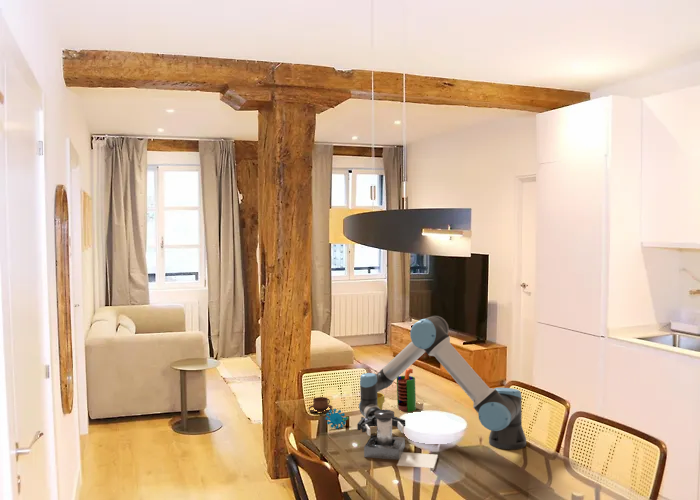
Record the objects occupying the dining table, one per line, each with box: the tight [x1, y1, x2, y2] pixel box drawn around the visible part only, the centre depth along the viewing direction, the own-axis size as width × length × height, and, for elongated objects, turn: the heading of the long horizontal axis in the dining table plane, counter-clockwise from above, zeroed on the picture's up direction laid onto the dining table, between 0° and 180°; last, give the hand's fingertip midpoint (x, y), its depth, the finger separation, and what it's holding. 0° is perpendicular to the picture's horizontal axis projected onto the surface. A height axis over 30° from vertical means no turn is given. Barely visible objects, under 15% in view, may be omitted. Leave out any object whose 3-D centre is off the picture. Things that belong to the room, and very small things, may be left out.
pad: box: [396, 451, 439, 472], centre depth 238 cm, size 14×14×1 cm
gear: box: [324, 408, 349, 430], centre depth 285 cm, size 11×6×10 cm
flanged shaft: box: [374, 409, 395, 446], centre depth 247 cm, size 8×8×16 cm
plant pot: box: [377, 392, 385, 410], centre depth 300 cm, size 10×10×10 cm
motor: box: [396, 368, 417, 413], centre depth 309 cm, size 10×9×20 cm
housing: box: [363, 435, 406, 461], centre depth 247 cm, size 14×14×5 cm
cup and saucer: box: [308, 396, 334, 413], centre depth 309 cm, size 12×12×6 cm
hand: (386, 431), depth 244 cm, fingers open, 13 cm apart
